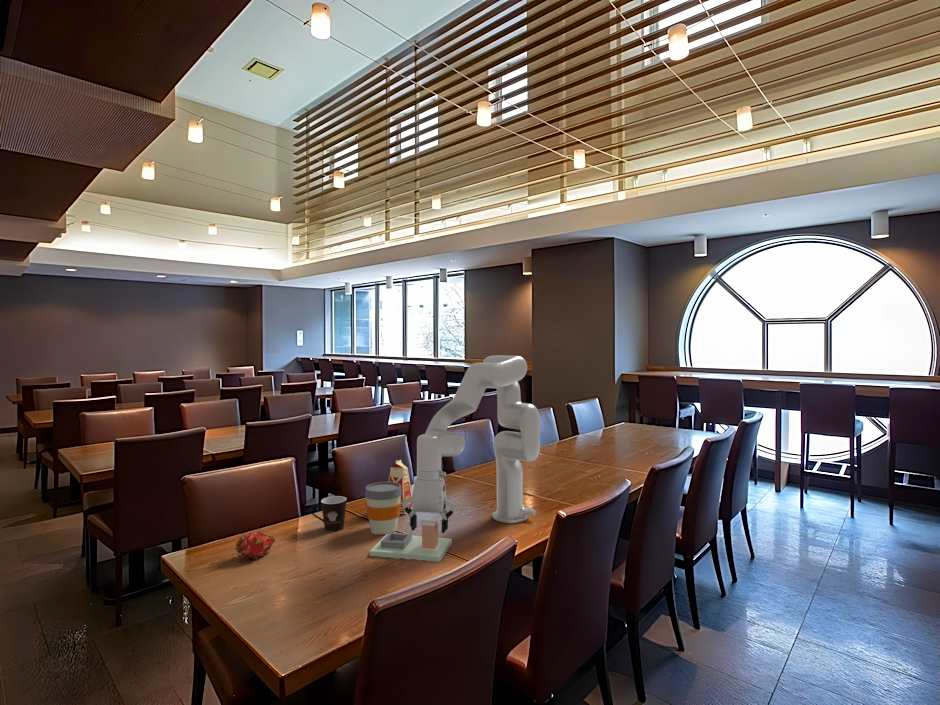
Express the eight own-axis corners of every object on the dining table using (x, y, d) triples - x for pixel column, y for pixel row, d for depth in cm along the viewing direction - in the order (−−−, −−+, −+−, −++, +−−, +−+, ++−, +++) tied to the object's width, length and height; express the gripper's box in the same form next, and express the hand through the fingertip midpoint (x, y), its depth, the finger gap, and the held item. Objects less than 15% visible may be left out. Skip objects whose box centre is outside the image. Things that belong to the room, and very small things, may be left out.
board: (451, 543, 162) (451, 533, 162) (439, 562, 148) (439, 550, 148) (387, 538, 166) (387, 528, 166) (369, 555, 153) (369, 545, 153)
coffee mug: (351, 525, 178) (351, 497, 178) (337, 534, 170) (337, 504, 170) (323, 521, 182) (323, 494, 182) (308, 530, 174) (308, 501, 174)
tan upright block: (438, 543, 157) (438, 518, 157) (434, 548, 153) (434, 522, 153) (426, 542, 158) (425, 517, 158) (422, 547, 154) (421, 521, 154)
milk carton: (406, 515, 189) (405, 461, 188) (383, 513, 190) (382, 461, 190) (414, 507, 198) (413, 456, 197) (391, 506, 199) (391, 455, 199)
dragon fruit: (231, 567, 149) (271, 561, 157) (241, 557, 144) (282, 551, 153) (228, 539, 153) (268, 534, 161) (239, 528, 149) (278, 524, 157)
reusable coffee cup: (371, 539, 166) (370, 493, 165) (361, 527, 177) (360, 484, 176) (407, 532, 171) (406, 488, 171) (395, 520, 182) (394, 479, 182)
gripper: (459, 473, 157) (459, 528, 157) (406, 470, 161) (406, 524, 161) (453, 479, 150) (453, 537, 150) (398, 476, 153) (398, 532, 154)
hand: (428, 530), depth 155 cm, fingers open, 9 cm apart
